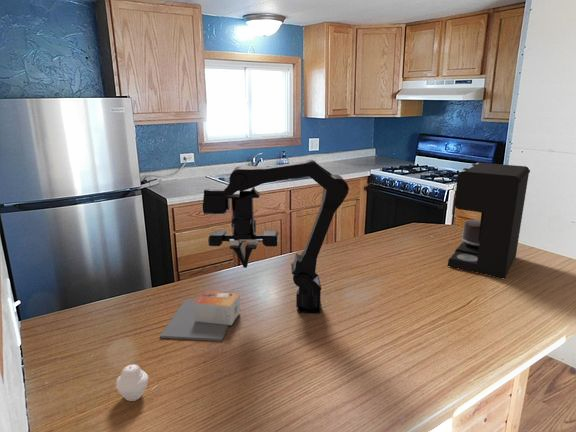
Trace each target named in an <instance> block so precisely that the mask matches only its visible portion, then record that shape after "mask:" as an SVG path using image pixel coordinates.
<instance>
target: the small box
mask: <svg viewBox="0 0 576 432" xmlns="http://www.w3.org/2000/svg"><path fill="white" fill-rule="evenodd" d="M240 312H241V293H236V292H235V293H233V292H226V291H225V292H223V291H213V290H204V291H203V292H202V293H201V294H200V295H199V296H198V298H196V301H195V302H194V315H195V322H205V323H215V324H224V325H229V326H232V325H233V323H234V322H235V320H236V319H237V317H238V316H239V315H240Z"/></svg>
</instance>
